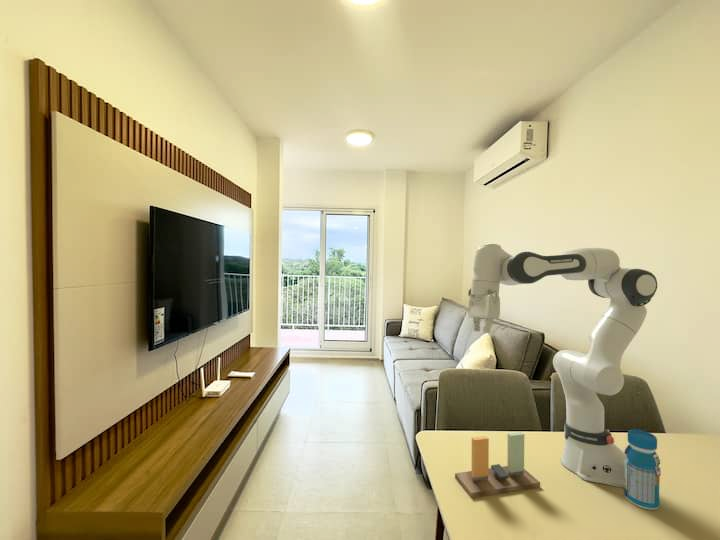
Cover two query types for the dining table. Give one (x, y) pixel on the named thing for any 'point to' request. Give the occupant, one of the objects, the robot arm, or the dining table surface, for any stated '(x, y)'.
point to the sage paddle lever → (515, 453)
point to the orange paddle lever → (480, 458)
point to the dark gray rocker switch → (499, 472)
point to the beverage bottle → (642, 470)
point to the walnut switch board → (495, 483)
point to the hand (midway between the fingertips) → (481, 332)
